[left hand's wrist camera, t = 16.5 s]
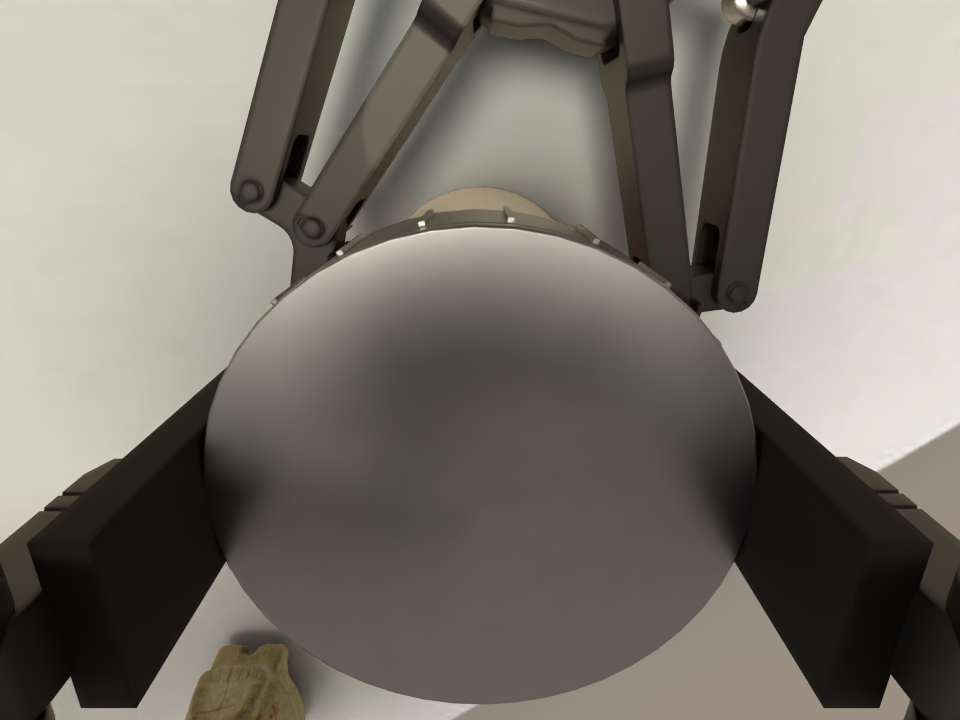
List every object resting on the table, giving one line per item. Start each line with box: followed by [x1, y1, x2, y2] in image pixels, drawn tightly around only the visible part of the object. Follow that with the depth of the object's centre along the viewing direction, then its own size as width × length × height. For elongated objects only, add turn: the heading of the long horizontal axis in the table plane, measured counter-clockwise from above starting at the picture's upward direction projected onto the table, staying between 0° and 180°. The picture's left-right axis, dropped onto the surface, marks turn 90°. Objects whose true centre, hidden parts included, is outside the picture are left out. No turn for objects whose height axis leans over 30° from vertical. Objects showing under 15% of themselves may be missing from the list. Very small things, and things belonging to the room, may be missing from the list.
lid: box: [203, 206, 758, 704], centre depth 11 cm, size 10×10×2 cm
